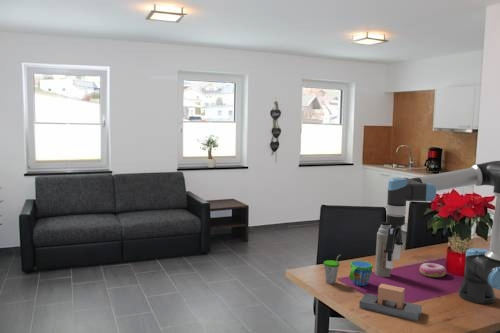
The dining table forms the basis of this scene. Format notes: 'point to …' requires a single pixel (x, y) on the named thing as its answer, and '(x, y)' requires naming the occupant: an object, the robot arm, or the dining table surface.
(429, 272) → the donut
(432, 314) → the dining table surface
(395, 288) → the tan bridge block
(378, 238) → the thermos bottle
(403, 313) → the rail
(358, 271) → the snack cup
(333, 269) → the cup
